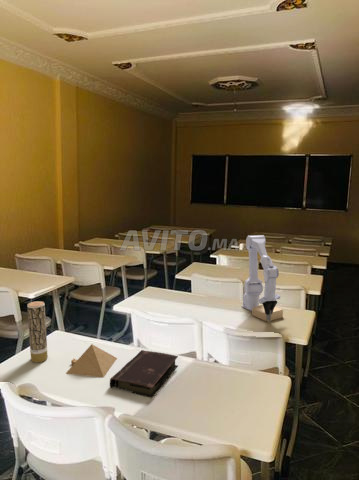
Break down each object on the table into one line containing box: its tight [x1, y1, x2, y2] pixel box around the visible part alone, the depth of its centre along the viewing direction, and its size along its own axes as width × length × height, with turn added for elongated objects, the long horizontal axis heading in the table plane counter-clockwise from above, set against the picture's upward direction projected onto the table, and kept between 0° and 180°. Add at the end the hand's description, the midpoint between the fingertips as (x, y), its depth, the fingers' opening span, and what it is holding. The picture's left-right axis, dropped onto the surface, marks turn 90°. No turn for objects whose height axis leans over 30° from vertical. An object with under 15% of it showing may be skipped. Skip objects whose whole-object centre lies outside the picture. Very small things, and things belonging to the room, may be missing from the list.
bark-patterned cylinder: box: [26, 300, 48, 363], centre depth 163 cm, size 7×7×25 cm
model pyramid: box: [65, 343, 118, 378], centre depth 160 cm, size 17×17×10 cm
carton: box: [253, 304, 284, 322], centre depth 216 cm, size 11×12×4 cm
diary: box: [109, 349, 179, 398], centre depth 152 cm, size 19×25×5 cm
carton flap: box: [251, 308, 272, 322], centre depth 211 cm, size 13×1×7 cm, turn 34°
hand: (268, 313), depth 207 cm, fingers open, 2 cm apart
